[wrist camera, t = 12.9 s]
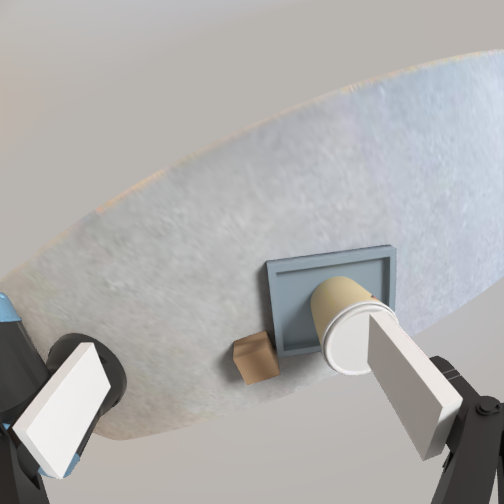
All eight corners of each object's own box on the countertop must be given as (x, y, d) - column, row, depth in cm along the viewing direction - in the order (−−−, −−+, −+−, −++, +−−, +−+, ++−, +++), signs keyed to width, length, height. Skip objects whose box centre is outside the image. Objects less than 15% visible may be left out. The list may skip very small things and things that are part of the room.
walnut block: (246, 365, 46) (247, 385, 41) (234, 340, 45) (233, 359, 40) (277, 355, 46) (280, 374, 41) (265, 329, 45) (267, 347, 40)
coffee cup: (368, 321, 44) (401, 364, 32) (309, 336, 44) (327, 386, 32) (363, 263, 41) (401, 294, 30) (298, 278, 42) (317, 317, 30)
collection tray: (276, 349, 46) (277, 357, 43) (266, 261, 42) (267, 266, 40) (386, 329, 45) (392, 336, 43) (389, 244, 42) (396, 248, 40)
